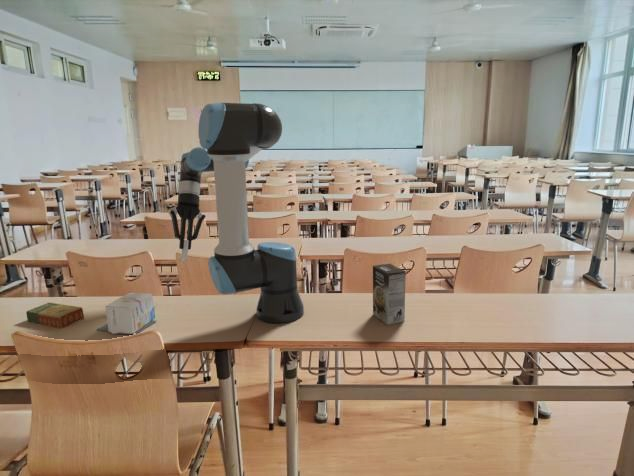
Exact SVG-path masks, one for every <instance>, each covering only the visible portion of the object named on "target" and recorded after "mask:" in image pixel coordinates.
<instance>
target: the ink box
mask: <svg viewBox="0 0 634 476" xmlns="http://www.w3.org/2000/svg"><path fill="white" fill-rule="evenodd" d="M105 314H106V322H107V323H108V331H109V332H108V333H111V334H113V335H115V334H122V333H126V334H125V335H130V334H133V333H135V332H136V331H137V330H139V329H140V328H142V327H143V326H145V325H146V324H147V323H149V322H150V321H154V320H155V318H156V313H155V305H154V298H153V293H146V292H145V293H144V292H143V293H142V292H128V293H126V294H125V295H122V296H121V297H119V298H117V299H115V300H114V301H112V302H110V303H108V304H106V305H105ZM107 323H106V324H107Z"/></svg>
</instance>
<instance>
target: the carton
mask: <svg viewBox="0 0 634 476" xmlns="http://www.w3.org/2000/svg"><path fill="white" fill-rule="evenodd" d="M25 312H26V318H27V322H28V323H32V324H37V325H42V326H47V327H51V328H52V327H53V328H57V329H63V328H66V327H68V326H70V325H73V324H75V323H77V322H79V320H80V321H82V320H83V319H85V316H84V315H85V314H84V309H83V307H80V306H74V305H67V304H63V303H62V304H61V303H54V302H47V303H44V304H42V305H39V306H37V307H33V308H31V309H29V310H27V311H25Z"/></svg>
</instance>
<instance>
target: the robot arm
mask: <svg viewBox="0 0 634 476" xmlns="http://www.w3.org/2000/svg"><path fill="white" fill-rule="evenodd" d="M197 130H198V139H199V144H200V146H198V147H193V148H192V149H191V150H190V151H188V152H185V153H183V154H182V155H181V161H180V169H179V171H180V173H179V174H180V175H179V185H178V197H177V204H176V205H177V206H176V207H175V209H172V210H170V211H169V212H168V214H169V216H170V218H171V223H172V229H173V234H174V237H175V239H177V240H179V247H178V248H179V250H181V257H180V259H181V260H182V259H183V260H186V259H188V257H189V255H188V253H189V252H188V251H190V250H191V248H192V241H195V240H197V239H198V236H199V232H200V230H201V226H202V223H203V221H204V220H205V218H206V217H207V216H206V214H203V213H202V212H201V209H200V195H201V181H202V180H201V179H202V174H203V173H207V172H210V173H211V172H213V173H214V186H215V188H214V189H215V202H216V218H217V219H216V220H217V230H218V231H217V233H218V234H217V236H218V244H217V246H216V247H214V249H213V254H214V256H210V257H209V258H208V262H207V263H208V270H209V274H210V279H211V281H212V283H213V286H214V287H215V289H216V291H217V292H218V293H219V294H220V295H225V296H226V295H232V294H238V293H242V292H246V291H251V290H255V289H259V288H260V295H259V298H258V302H257V306H256V318H258V320H260V321H262V322H265V323H269V324H270V323H271V324H285V323H289V322H290V323H291V322H294V321H295V320H298V319H300V318H301V317H303V316H304V313H305V309H304V308H305V307H304V303H303V300H302V298H301V295H300V293H299V290H298V276H297V275H298V273H297V270H298V269H297V261H298V259H297V255H296V249H295V247H294V246H293V245H291V244H288V243H286V242H285V243H284V242H276V241H275V242H274V241H268V242H267V241H265V242H261V243H258V244H257V249H255V246H254V245H253V244H252V243H250V241H249V240H250V238H249V221H248V220H249V218H248V196H247V177H246V176H247V175H246V172H247V171H246V169H247V168H248V166H249V164H250V159H252V158H253V157H254V156H255V155H257V154H258V153H259V152H261V151H262V150H267V149H270V148H271V147H273V146H274V145H276V144H277V143H278V142H279V140H280V139H281V136H282V133H283V124H282V120H281V118H280V116H279V115H278V114H277V112H276V111H275V110H274V109H272V107H269V106H268V105H265V104H263V103H247V102H244V103H241V102H240V103H239V102H237V103H236V102H222V101H221V102H216V103H213V102H212V103H208V104H206V105H205V106H203V108H202V110H201V113H200V116H199V121H198V129H197ZM178 216H179V218H180V229H179V223H178V222H179V221H178ZM195 218H197V222H196V225H195V228H193V227H194V220H195ZM186 226H187V234H186Z"/></svg>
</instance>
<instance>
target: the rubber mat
mask: <svg viewBox="0 0 634 476" xmlns="http://www.w3.org/2000/svg"><path fill="white" fill-rule="evenodd" d="M155 323H156V320H152V321H150V322H149V323H147V324H146V325H145V326H143V327H142V328H140V329H139V330H137V331H136V332H135V333H137V334H139V333H141V332H143V331H144V330H146V329H147V328H149V327H150V326H152V325H153V324H155ZM96 330H97V331H101V332H102V331H103V332H107V333H110V332H109V331H108V323H104V325H101V326H100V327H98V328H96ZM138 332H139V333H138ZM121 334H122V335H123V334H124V335H127V334H126V333H121ZM133 334H134V333H133Z"/></svg>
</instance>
